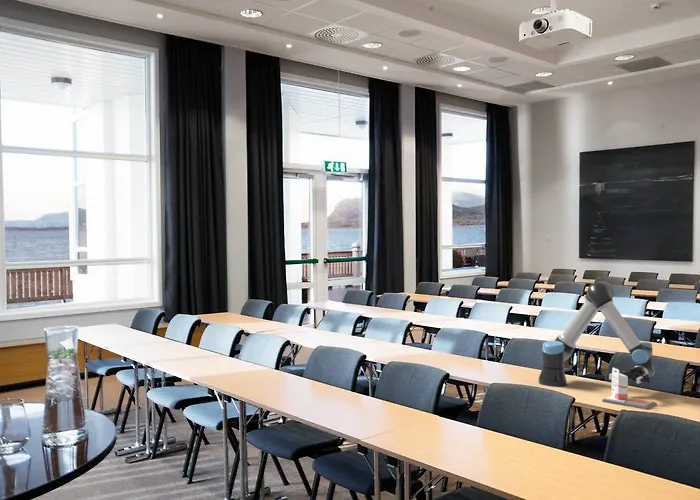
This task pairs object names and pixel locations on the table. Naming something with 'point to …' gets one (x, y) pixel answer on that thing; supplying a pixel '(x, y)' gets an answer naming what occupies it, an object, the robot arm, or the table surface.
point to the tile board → (631, 402)
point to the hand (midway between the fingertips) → (623, 378)
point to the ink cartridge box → (619, 385)
